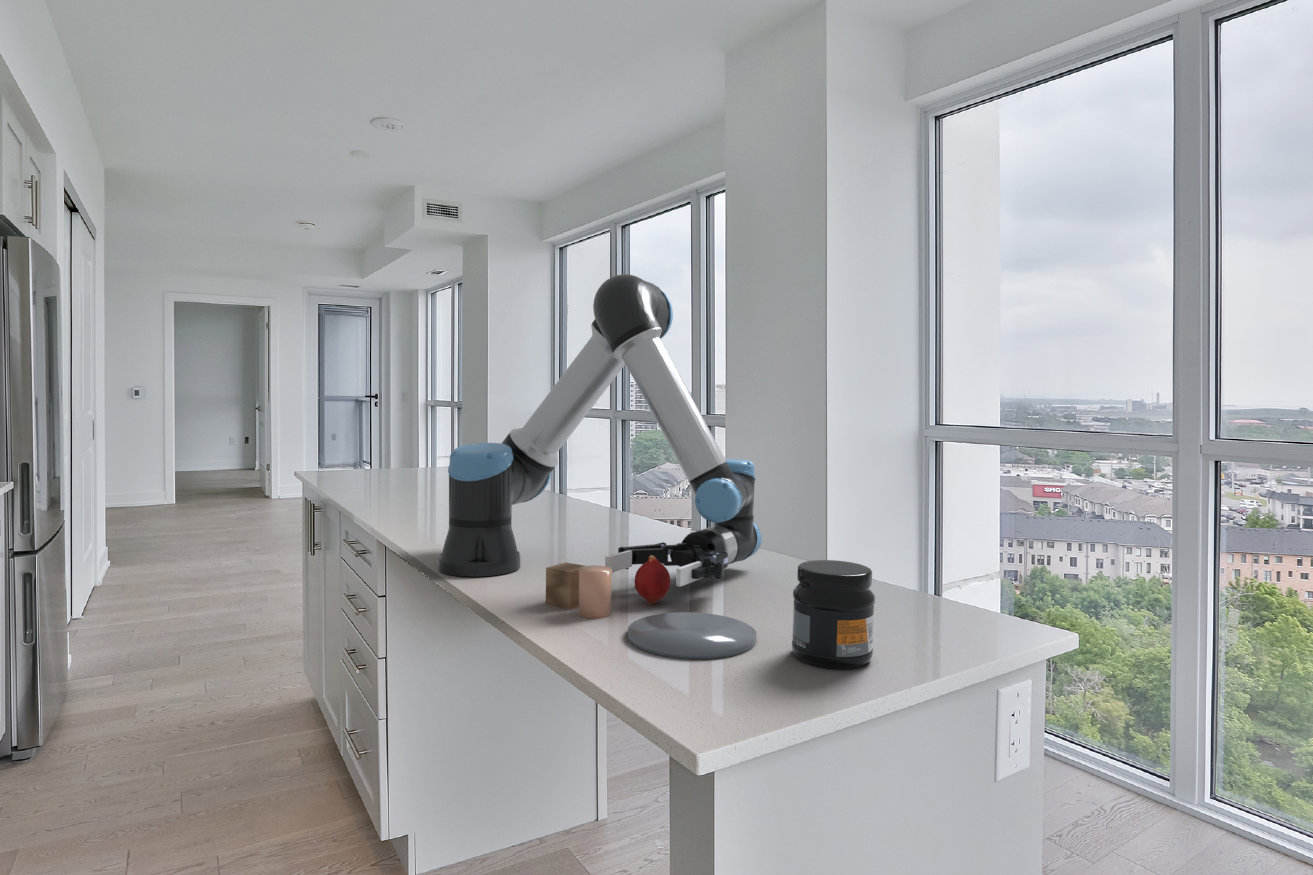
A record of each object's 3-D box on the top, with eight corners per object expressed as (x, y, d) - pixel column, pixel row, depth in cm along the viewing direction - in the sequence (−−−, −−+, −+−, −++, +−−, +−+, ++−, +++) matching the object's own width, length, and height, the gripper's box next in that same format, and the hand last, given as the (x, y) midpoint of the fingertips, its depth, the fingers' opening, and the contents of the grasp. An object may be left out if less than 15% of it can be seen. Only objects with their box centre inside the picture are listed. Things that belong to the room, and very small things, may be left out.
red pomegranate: (652, 597, 132) (653, 550, 132) (677, 604, 128) (678, 555, 127) (626, 603, 128) (627, 554, 127) (651, 611, 124) (652, 560, 123)
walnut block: (545, 604, 127) (546, 567, 126) (565, 598, 131) (566, 562, 130) (569, 609, 124) (570, 572, 123) (589, 603, 128) (590, 566, 128)
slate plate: (601, 641, 109) (602, 634, 108) (671, 612, 124) (671, 605, 124) (717, 668, 99) (717, 661, 99) (777, 633, 114) (777, 626, 114)
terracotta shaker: (571, 614, 121) (572, 569, 121) (591, 607, 125) (592, 563, 125) (597, 620, 118) (598, 574, 118) (617, 613, 123) (618, 568, 122)
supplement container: (889, 666, 101) (893, 573, 100) (818, 675, 97) (821, 579, 97) (842, 641, 111) (845, 556, 110) (776, 648, 107) (779, 561, 106)
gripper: (770, 580, 136) (710, 607, 118) (649, 560, 150) (579, 582, 132) (771, 537, 136) (711, 558, 118) (650, 521, 149) (580, 538, 132)
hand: (641, 571), depth 125 cm, fingers open, 13 cm apart
